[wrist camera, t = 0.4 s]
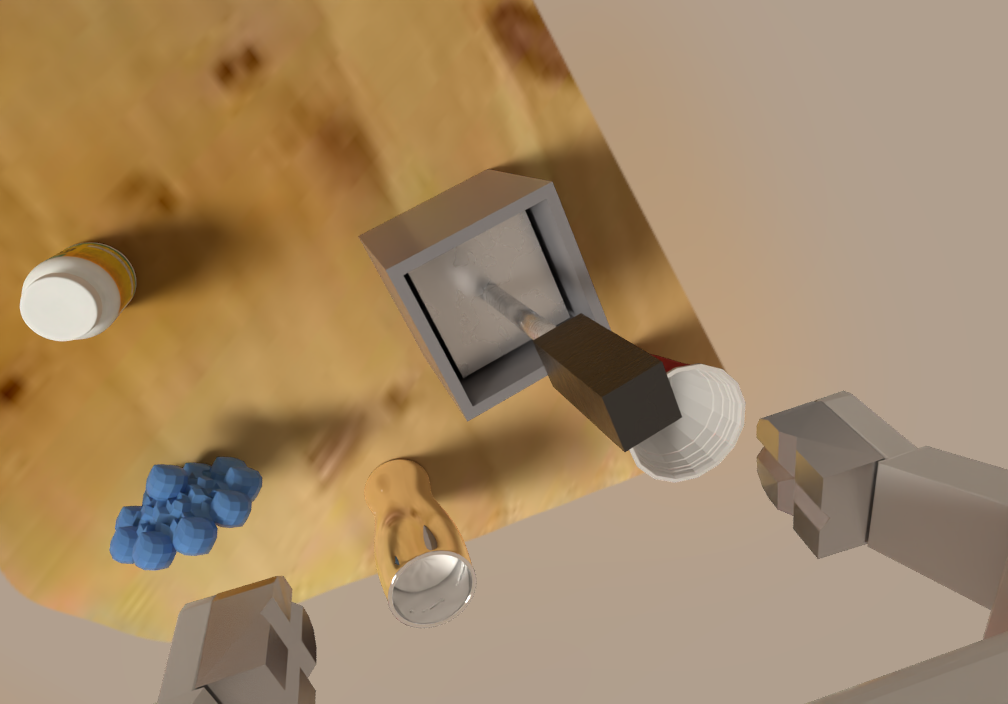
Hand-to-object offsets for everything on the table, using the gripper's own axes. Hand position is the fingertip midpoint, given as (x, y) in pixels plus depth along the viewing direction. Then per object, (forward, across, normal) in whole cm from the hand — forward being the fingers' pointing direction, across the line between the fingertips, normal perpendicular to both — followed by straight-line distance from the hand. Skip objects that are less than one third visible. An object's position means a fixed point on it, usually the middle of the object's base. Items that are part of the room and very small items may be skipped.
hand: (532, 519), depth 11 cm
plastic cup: (+44, -14, +31) cm, 56 cm away
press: (+44, -2, +15) cm, 47 cm away
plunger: (+35, -3, +14) cm, 37 cm away
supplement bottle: (+42, +24, +7) cm, 48 cm away
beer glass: (+40, +9, +33) cm, 52 cm away
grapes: (+39, +24, +23) cm, 51 cm away
